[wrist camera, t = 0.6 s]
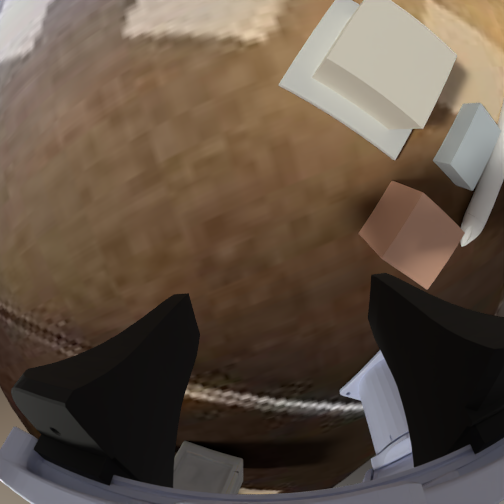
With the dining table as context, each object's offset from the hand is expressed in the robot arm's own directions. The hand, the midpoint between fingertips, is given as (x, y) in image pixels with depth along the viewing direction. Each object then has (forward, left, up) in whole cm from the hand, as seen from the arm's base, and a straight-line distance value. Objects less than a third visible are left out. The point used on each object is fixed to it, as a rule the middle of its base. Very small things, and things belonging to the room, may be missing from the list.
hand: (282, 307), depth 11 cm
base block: (0, -13, -9) cm, 16 cm away
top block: (-7, -5, -9) cm, 13 cm away
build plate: (0, -13, -9) cm, 16 cm away
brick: (-9, -14, -9) cm, 19 cm away
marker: (-13, -16, -10) cm, 23 cm away
